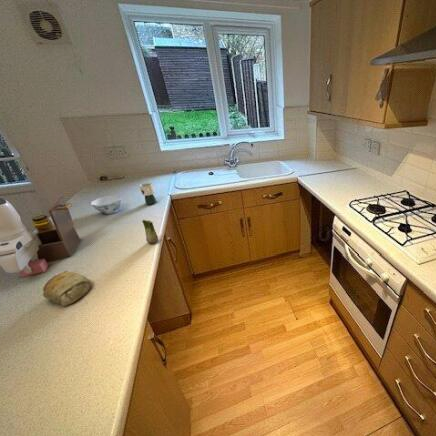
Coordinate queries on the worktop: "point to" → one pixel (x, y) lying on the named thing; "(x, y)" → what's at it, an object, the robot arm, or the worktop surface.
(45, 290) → the pastry
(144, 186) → the character mug
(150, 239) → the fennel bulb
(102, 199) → the chinaware
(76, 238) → the chest
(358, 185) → the worktop surface
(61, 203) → the chest lid
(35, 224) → the condiment
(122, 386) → the worktop surface
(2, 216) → the robot arm
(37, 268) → the pink rectangular block
